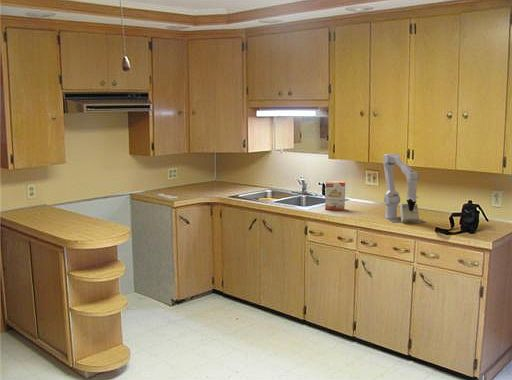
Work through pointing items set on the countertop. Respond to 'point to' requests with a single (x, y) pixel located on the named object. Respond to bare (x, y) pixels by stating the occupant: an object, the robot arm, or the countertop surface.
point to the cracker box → (335, 195)
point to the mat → (400, 220)
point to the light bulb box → (409, 214)
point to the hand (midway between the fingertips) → (410, 210)
